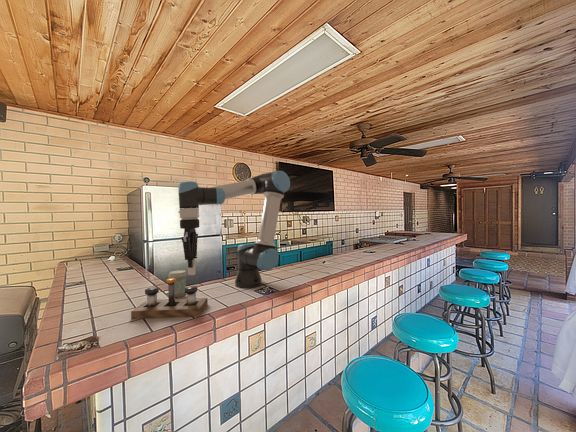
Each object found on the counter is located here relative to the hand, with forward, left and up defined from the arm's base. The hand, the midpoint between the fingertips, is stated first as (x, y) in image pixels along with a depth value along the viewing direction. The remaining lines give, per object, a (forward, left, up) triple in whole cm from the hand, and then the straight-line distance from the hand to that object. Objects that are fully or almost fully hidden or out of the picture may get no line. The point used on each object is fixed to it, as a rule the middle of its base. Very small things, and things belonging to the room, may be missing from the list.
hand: (191, 274), depth 100 cm
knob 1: (+16, 0, -15) cm, 22 cm away
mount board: (+8, 0, -15) cm, 17 cm away
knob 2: (0, 0, -15) cm, 15 cm away
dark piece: (+8, 0, -12) cm, 15 cm away
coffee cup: (+13, -19, -15) cm, 28 cm away
